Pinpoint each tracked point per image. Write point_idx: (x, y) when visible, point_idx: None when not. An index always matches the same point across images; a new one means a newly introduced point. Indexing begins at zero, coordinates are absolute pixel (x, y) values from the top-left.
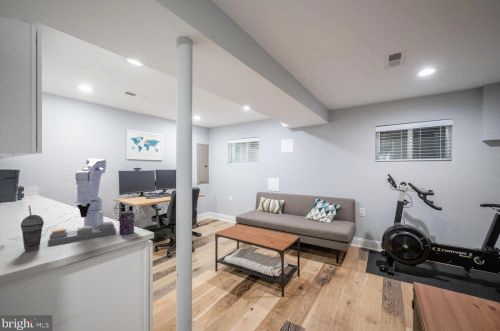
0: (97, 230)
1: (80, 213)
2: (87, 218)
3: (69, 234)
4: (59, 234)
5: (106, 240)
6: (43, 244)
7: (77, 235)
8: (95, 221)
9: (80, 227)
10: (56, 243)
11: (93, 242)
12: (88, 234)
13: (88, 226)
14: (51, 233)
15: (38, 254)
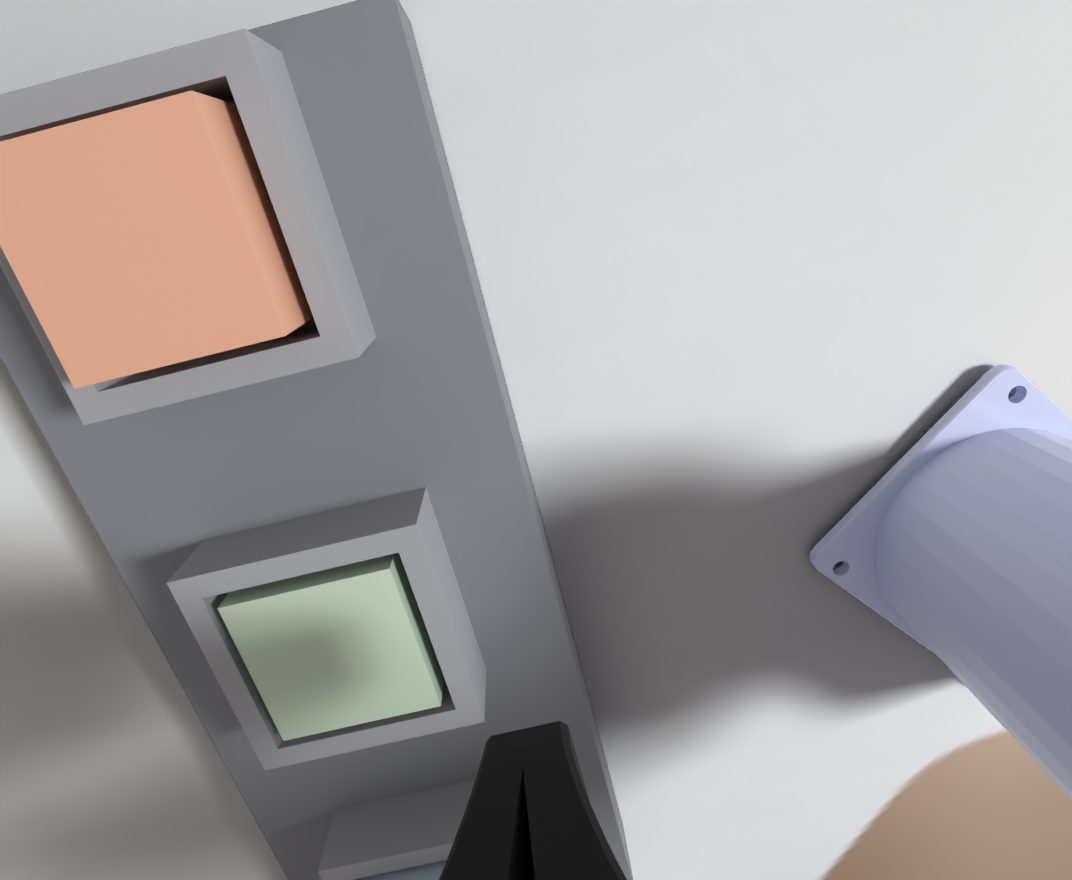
0: (357, 766)
1: (451, 860)
2: (1029, 610)
3: (234, 415)
4: None
5: (62, 841)
6: (72, 16)
7: (118, 565)
8: (954, 671)
9: (394, 584)
10: None
11: (7, 730)
12: (193, 683)
13: (421, 697)
14: (21, 114)
15: None
